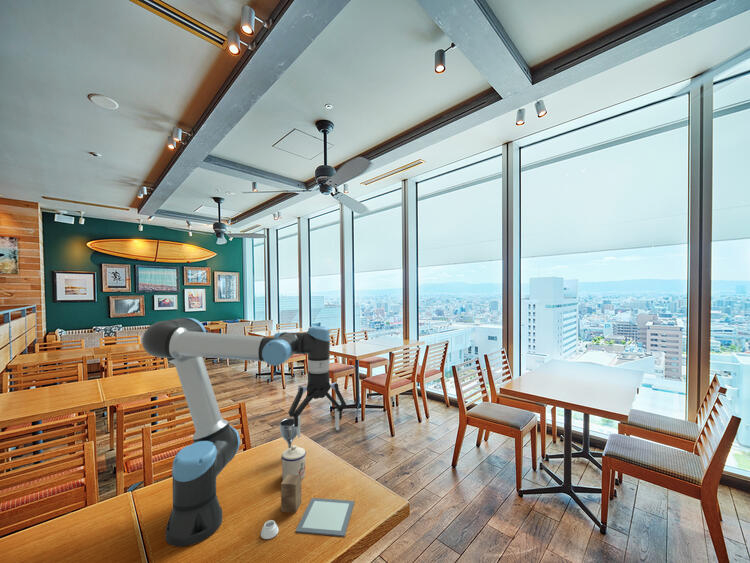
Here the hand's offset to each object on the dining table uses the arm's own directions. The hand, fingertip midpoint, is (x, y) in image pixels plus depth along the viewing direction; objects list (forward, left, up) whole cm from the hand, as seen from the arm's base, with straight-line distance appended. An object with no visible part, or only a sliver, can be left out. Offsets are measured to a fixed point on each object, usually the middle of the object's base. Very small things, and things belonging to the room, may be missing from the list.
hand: (318, 432), depth 111 cm
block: (-8, -6, -23) cm, 24 cm away
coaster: (+5, -9, -22) cm, 25 cm away
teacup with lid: (-14, +12, -23) cm, 29 cm away
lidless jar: (-10, -17, -23) cm, 30 cm away
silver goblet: (-21, +24, -23) cm, 39 cm away
